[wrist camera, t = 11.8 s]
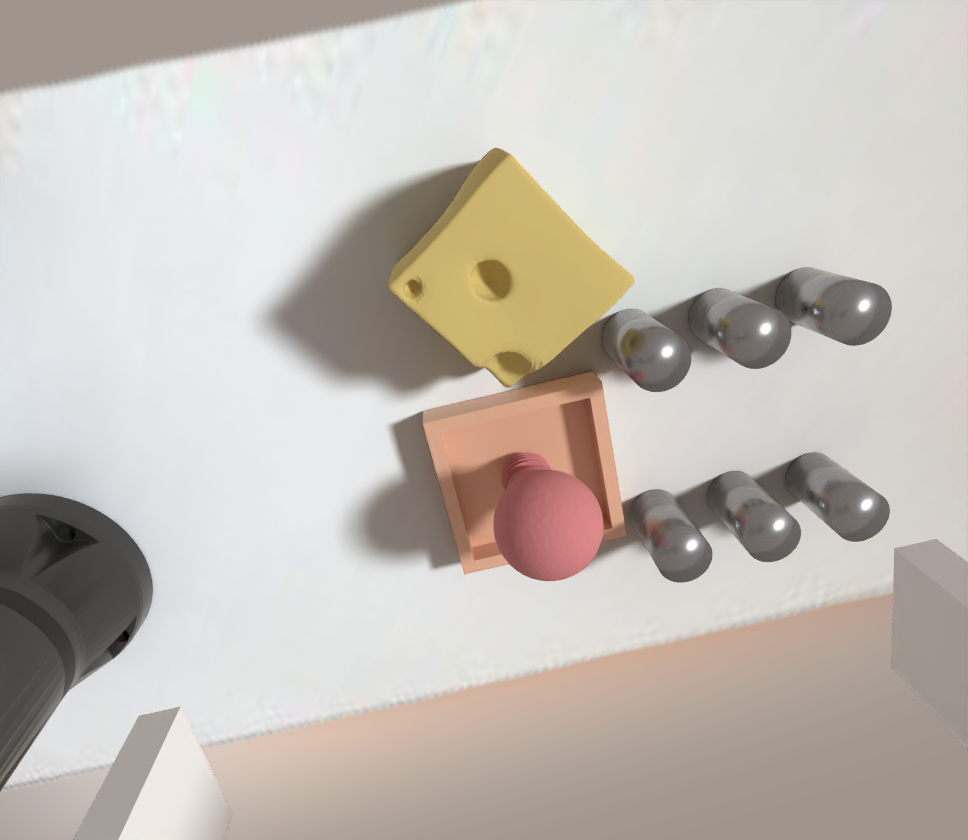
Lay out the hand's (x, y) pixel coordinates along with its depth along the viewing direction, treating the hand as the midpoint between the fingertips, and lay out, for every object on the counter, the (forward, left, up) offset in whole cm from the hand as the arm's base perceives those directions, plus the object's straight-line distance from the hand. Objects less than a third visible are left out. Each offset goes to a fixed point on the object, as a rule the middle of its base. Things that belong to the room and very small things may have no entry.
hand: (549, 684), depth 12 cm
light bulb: (+2, -14, -36) cm, 39 cm away
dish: (+2, -14, -37) cm, 39 cm away
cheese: (+3, +2, -37) cm, 37 cm away
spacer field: (+18, -13, -37) cm, 43 cm away
